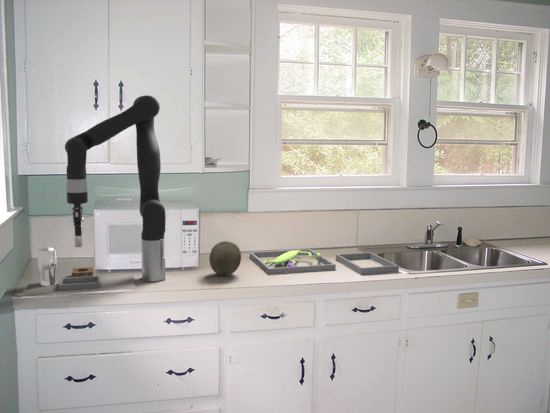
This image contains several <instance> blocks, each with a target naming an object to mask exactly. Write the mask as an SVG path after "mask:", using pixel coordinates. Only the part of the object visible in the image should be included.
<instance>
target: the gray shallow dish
mask: <svg viewBox="0 0 550 413" xmlns="http://www.w3.org/2000/svg"><path fill="white" fill-rule="evenodd" d="M368 259H369V260H372V261H373V262H375V261H376V262H375V263H377V262H378V263H377V264H379V263H380V264H379V265H380V266H368V267H362V266H360V265H358V264H356V263H354V262H352V260H353V261H354V260H368ZM335 261H336V262H338V263H339V264H341V265H343V266H345V267H346V268H348V269H350V270H351V271H353V272H355V273H357V274H358V275H360V276H364V275H365V276H367V275H378V274H379V273H382V274H391V273H390V272H396V273H399V272H398V271H400V265H398V264H396V263H395V262H392V261H390V260H388V259H385V258H383V257H381V256H379V255H377V254H375V253H373V252H371V251H367V252H352V253H351V252H350V253H337V254H335ZM381 264H382V265H381ZM383 265H384V266H383Z"/></svg>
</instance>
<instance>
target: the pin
mask: <svg viewBox="0 0 550 413" xmlns="http://www.w3.org/2000/svg"><path fill="white" fill-rule="evenodd" d="M71 222H73V223H74V220H73V217H71ZM76 222H79V221H76ZM83 222H85V217H83V219H82V220H81V224H82V225H81V236H75V235H74V248H82V247H84V246H83ZM73 229H74V231H73V233H74V234H75V226H74V225H73Z"/></svg>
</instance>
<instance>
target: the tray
mask: <svg viewBox="0 0 550 413" xmlns="http://www.w3.org/2000/svg"><path fill="white" fill-rule="evenodd" d="M101 279H102V278H101V275H93V276H85V277H72V276H70V277H60V279H59V283H58V291H68V290H69V291H70V290H71V291H73V290H85V289H100V288H101V283H102V282H101Z"/></svg>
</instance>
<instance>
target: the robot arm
mask: <svg viewBox="0 0 550 413" xmlns="http://www.w3.org/2000/svg"><path fill="white" fill-rule="evenodd" d="M160 109H161V106H160V102H159V100H158V99H157V98H156V97H154V96H152V95H146V94H145V95H140V96H137V98H136V99H135V100H134V101H133V104H132V106H130V107H128V108H127V109H125V110H124V111H122V112H120V113H118V114H116V115H114V116H112V117H109V118H107V119H105V120H102V121H100V122H98V123H97V124H95V125H94V126H91V127H90V128H88V129H87V130H86V131H84V132H82V133H79V134H77V135H75V136H72V137H71V138H70V139H67V140H66V142H65V144H64V149H65V152H66V157H67V165H66V183H65V184H66V188H65V189H66V203H67V204H70V205H71V204H72V205H73V207H71V213H72V218H73V220H74V222H73V227H74V226H75V233H74V237H75V236H81V225H82V226H83V223H82V224H81V220H82V219H83V218H84V206H82V204H83V205H84V204H87V203H88V202H89V200H88V199H89V198H88V197H89V196H88V194H89V192H88V180H87V167H86V166H87V151H89V150H90V149H92V148H93V147H96V146H100V145H102V144H103V143H106V142H107V141H108V140H110V139H112V138H114V137H115V136H117V135H119V134H120V133H122V132H124V131H125V130H128V129H129V128H131V127H133V126H134V125H135V130H136V131H135V132H136V140H135V141H136V161H137V163H136V164H137V174H138V180H139V181H138V182H139V187H140V188H139V189H140V190H139V191H140V192H139V194H140V197H139V198H140V199H139V215H140V216H141V218H142V230H141V233H140V234H141V276H142V277H141V279H142V281H144V282H160V281H164V280H165V281H166V256H165V233H166V220H167V219H166V215H167V214H166V209H165V206H164V204H162V203H161V201H160V195H159V181H160V175H161V169H162V168H161V165H162V164H161V152H160V146H159V143H158V140H157V136H156V133H155V132H156V131H155V117H156V116H158V114H159V112H160ZM76 221H79V222H76Z"/></svg>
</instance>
